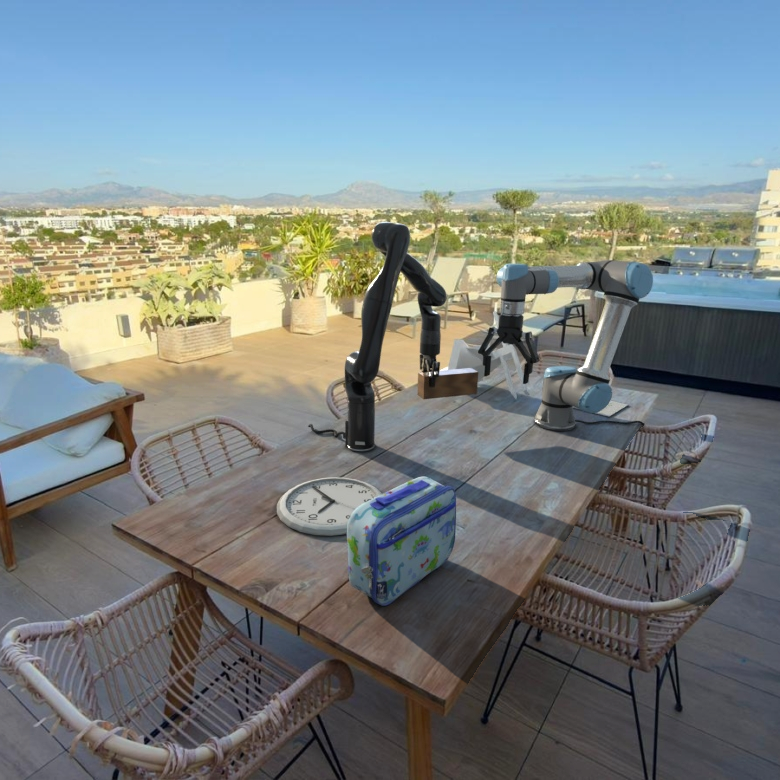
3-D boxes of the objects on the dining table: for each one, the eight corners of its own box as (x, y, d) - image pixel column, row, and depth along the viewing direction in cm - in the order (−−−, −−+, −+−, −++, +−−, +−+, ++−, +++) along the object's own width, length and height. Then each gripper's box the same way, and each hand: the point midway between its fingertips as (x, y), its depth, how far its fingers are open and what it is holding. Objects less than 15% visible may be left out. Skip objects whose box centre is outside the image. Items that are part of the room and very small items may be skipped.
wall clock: (392, 527, 129) (268, 531, 127) (391, 533, 130) (269, 537, 127) (383, 473, 158) (282, 475, 155) (383, 478, 158) (282, 480, 156)
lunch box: (376, 619, 101) (377, 524, 95) (340, 592, 109) (339, 502, 102) (459, 562, 119) (465, 479, 113) (424, 542, 126) (427, 463, 120)
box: (469, 389, 208) (470, 367, 205) (476, 394, 203) (478, 371, 200) (417, 394, 201) (418, 372, 198) (423, 399, 195) (424, 376, 193)
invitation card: (608, 416, 214) (573, 407, 224) (608, 416, 214) (573, 408, 224) (628, 404, 229) (594, 396, 238) (628, 405, 229) (594, 397, 238)
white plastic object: (461, 429, 252) (437, 405, 227) (444, 352, 274) (420, 323, 250) (535, 404, 240) (518, 377, 215) (510, 326, 262) (492, 293, 237)
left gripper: (413, 337, 198) (412, 380, 203) (428, 345, 185) (426, 391, 190) (431, 336, 200) (430, 378, 205) (447, 344, 188) (445, 389, 193)
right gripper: (470, 311, 168) (466, 374, 175) (545, 320, 154) (538, 389, 160) (481, 308, 174) (477, 370, 180) (554, 317, 160) (547, 383, 166)
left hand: (428, 384), depth 198 cm, fingers closed on box, 6 cm apart
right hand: (505, 379), depth 170 cm, fingers open, 13 cm apart
